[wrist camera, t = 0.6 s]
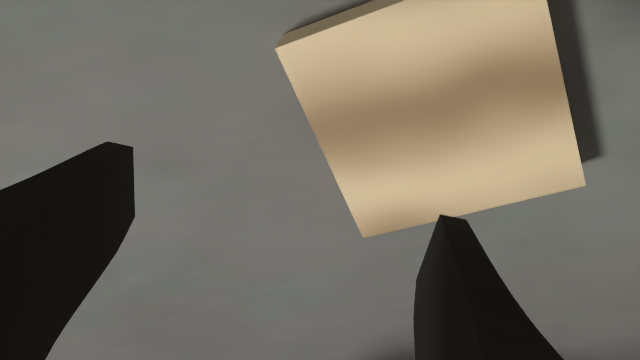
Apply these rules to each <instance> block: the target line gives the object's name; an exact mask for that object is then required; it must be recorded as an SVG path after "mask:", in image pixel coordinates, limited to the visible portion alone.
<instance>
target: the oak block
mask: <svg viewBox="0 0 640 360" xmlns="http://www.w3.org/2000/svg"><path fill="white" fill-rule="evenodd" d="M275 50H276V52H277V54H278V56H279V59H280V61H281V63H282V65H283V67H284V69H285V71H286V74H287V76H288V78H289V80H290V82H291V84H292V86H293V89H294V91H295V93H296V95H297V97H298V99H299V101H300V104H301V106H302V108H303V110H304V112H305V114H306V116H307V119H308V121H309V123H310V125H311V127H312V129H313V131H314V134H315V136H316V138H317V140H318V142H319V144H320V147H321V149H322V151H323V153H324V155H325V157H326V159H327V162H328V164H329V166H330V168H331V170H332V172H333V174H334V177H335V179H336V181H337V183H338V185H339V187H340V189H341V192H342V194H343V196H344V198H345V200H346V202H347V204H348V207H349V209H350V211H351V213H352V215H353V217H354V219H355V222H356V224H357V226H358V228H359V230H360V232H361V235H362V237H363V238H366V237H371V236H375V235H379V234H383V233H388V232H392V231H396V230H400V229H404V228H409V227H413V226H417V225H421V224H426V223H430V222H434V221H438V218H439V215H440V214H442V215H446V216H451V217H455V216H460V215H464V214H468V213H472V212H476V211H481V210H485V209H489V208H493V207H498V206H502V205H506V204H510V203H515V202H519V201H523V200H527V199H532V198H536V197H540V196H544V195H548V194H553V193H557V192H561V191H565V190H570V189H574V188H578V187H582V186H586V184H585V179H584V175H583V170H582V165H581V160H580V156H579V151H578V146H577V141H576V137H575V132H574V127H573V122H572V118H571V113H570V108H569V103H568V99H567V94H566V89H565V84H564V80H563V75H562V70H561V66H560V61H559V56H558V51H557V47H556V42H555V37H554V32H553V28H552V23H551V18H550V13H549V9H548V4H547V0H373V1H370V2H367V3H365V4H362V5H360V6H357V7H354V8H352V9H349V10H346V11H344V12H341V13H338V14H336V15H333V16H330V17H328V18H325V19H322V20H320V21H317V22H314V23H312V24H309V25H307V26H304V27H301V28H299V29H296V30H293V31H291V32H288V33H285V34H283V35H282V37H281V39H280V41H279V42H278V44H277V46H276V47H275Z"/></svg>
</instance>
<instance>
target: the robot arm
mask: <svg viewBox="0 0 640 360" xmlns="http://www.w3.org/2000/svg"><path fill="white" fill-rule="evenodd" d="M134 217H135V203H134V166H133V147H130V146H126V145H121V144H117V143H112V142H105V143H103V144H100V145H98V146H96V147H94V148H91V149H89V150H87V151H85V152H83V153H81V154H79V155H77V156H75V157H72V158H70V159H68V160H66V161H64V162H62V163H60V164H58V165H56V166H54V167H51V168H49V169H47V170H45V171H43V172H41V173H39V174H37V175H35V176H32V177H30V178H28V179H25V180H23V181H21V182H18V183H16V184H14V185H11V186H9V187H6V188H4V189H2V190H0V360H45V359H46V357H47V355H48V354H49V352H50V350H51V348H52V346H53V345H54V343H55V341H56V340H57V338H58V336H59V335H60V333H61V332H62V330H63V329H64V327H65V325H66V324H67V323H68V321H69V320H70V318H71V317H72V315H73V314H74V313H75V311H76V310H77V308H78V307H79V306H80V304H81V303H82V301H83V300H84V298H85V297H86V296H87V294H88V293H89V291H90V290H91V289H92V287H93V286H94V284H95V283H96V281H97V280H98V279H99V277H100V276H101V274H102V273H103V271H104V270H105V269H106V267H107V266H108V264H109V263H110V261H111V260H112V258H113V257H114V255H115V254H116V252H117V251H118V249H119V247H120V245H121V243H122V241H123V240H124V238H125V236H126V234H127V232H128V230H129V227H130V225H131V223H132V221H133V219H134ZM413 318H414V340H415V359H416V360H564V359H563V358H562V357H561V356H560V355H559V354H558V353H557V352H556V350H555V349H554V348H553V347H552V346H551V345H550V343H549V342H548V341H547V340H546V339H545V338H544V336H543V335H542V334H541V333H540V332H539V331H538V329H537V328H536V327H535V326H534V324H533V323H532V322H531V321H530V319H529V318H528V317H527V315H526V314H525V312H524V311H523V310H522V308H521V307H520V306H519V304H518V303H517V301H516V300H515V299H514V297H513V296H512V294H511V293H510V291H509V290H508V288H507V287H506V285H505V284H504V282H503V281H502V279H501V278H500V276H499V274H498V273H497V271H496V270H495V268H494V266H493V265H492V263H491V261H490V260H489V258H488V256H487V255H486V253H485V251H484V249H483V248H482V246H481V244H480V243H479V241H478V239H477V237H476V236H475V234H474V232H473V230H472V229H471V227H470V225H469V224H468V222H467V220H465V219H460V218H456V217H451V216H446V215H442V214H440V215H439V218H438V221H437V223H436V226H435V229H434V232H433V234H432V237H431V240H430V243H429V246H428V248H427V251H426V254H425V257H424V259H423V262H422V265H421V268H420V271H419V273H418V276H417V279H416V291H415V303H414V317H413Z"/></svg>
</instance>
